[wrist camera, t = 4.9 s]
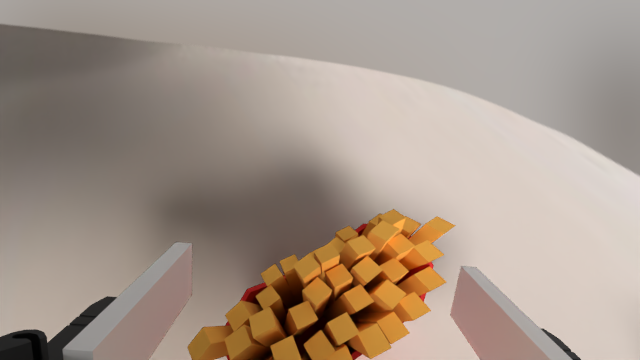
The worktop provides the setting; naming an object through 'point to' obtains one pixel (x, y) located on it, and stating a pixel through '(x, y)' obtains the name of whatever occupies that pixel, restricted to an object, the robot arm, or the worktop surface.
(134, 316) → the robot arm
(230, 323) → the french fries
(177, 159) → the worktop surface
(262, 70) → the worktop surface
